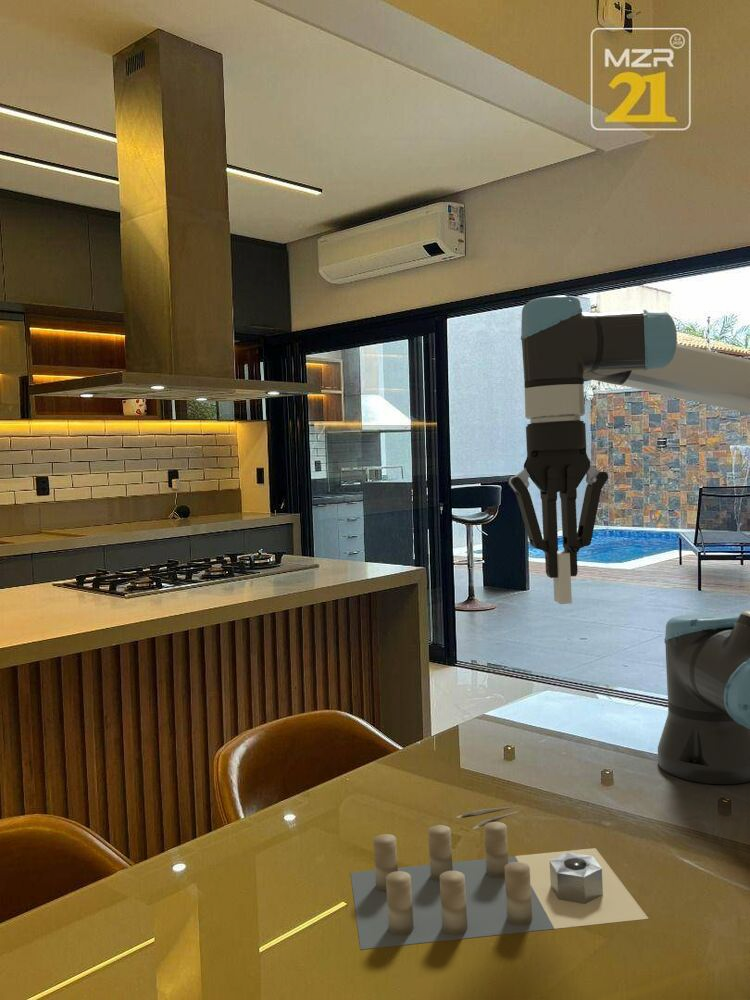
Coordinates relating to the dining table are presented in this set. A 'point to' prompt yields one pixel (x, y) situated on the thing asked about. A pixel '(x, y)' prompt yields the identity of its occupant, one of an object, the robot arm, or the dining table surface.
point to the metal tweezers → (486, 812)
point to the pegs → (451, 880)
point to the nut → (576, 878)
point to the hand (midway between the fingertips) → (562, 601)
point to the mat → (487, 903)
